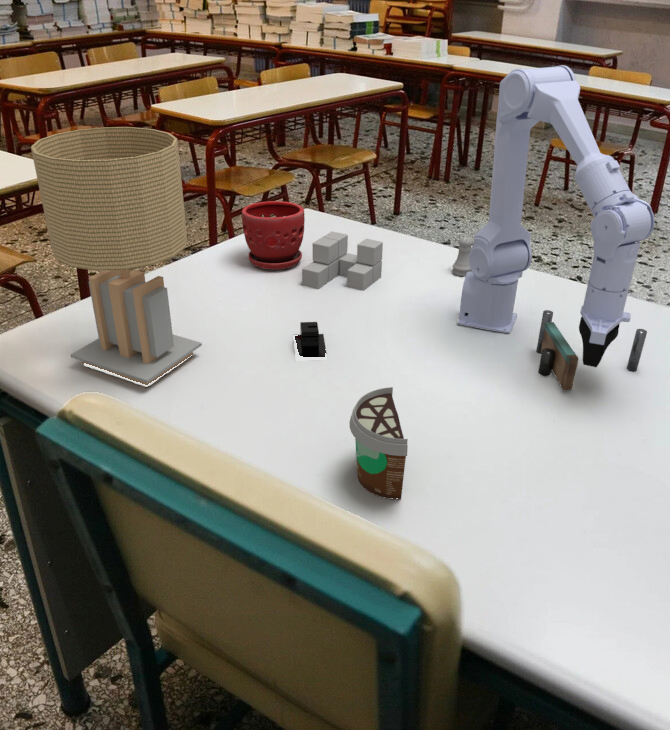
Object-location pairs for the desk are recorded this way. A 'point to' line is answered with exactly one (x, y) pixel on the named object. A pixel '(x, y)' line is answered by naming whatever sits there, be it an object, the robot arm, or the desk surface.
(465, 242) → the rook chess piece
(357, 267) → the grey cube structure
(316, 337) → the black stepped block
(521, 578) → the desk surface
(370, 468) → the food container
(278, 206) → the plant pot
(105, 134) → the desk lamp
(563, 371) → the open box
